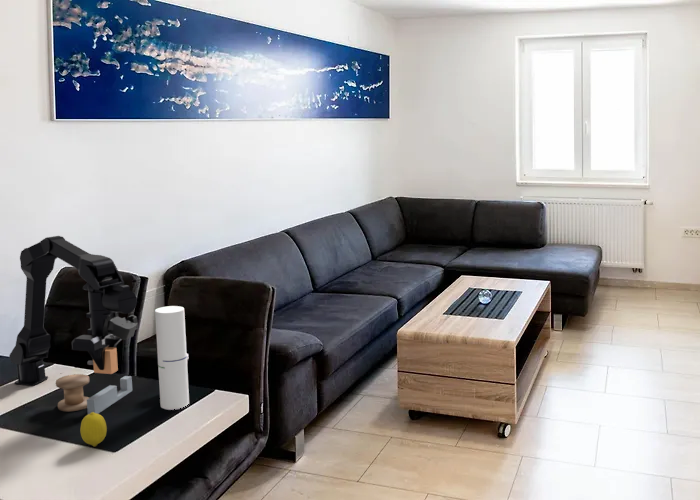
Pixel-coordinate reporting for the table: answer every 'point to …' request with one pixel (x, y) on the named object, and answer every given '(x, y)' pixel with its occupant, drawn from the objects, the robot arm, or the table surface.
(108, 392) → the notch board
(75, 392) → the bobbin
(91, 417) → the lemon
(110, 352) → the orange block
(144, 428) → the table surface
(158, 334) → the cylindrical container
